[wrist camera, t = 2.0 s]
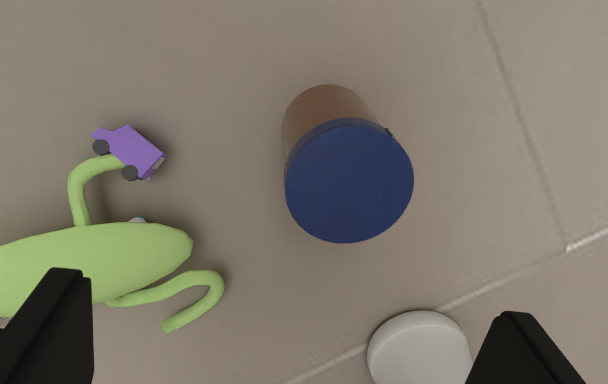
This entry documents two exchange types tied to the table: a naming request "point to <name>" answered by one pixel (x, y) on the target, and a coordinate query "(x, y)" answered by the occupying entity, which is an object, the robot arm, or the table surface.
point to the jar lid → (347, 180)
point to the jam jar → (320, 111)
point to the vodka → (419, 350)
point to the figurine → (110, 243)
